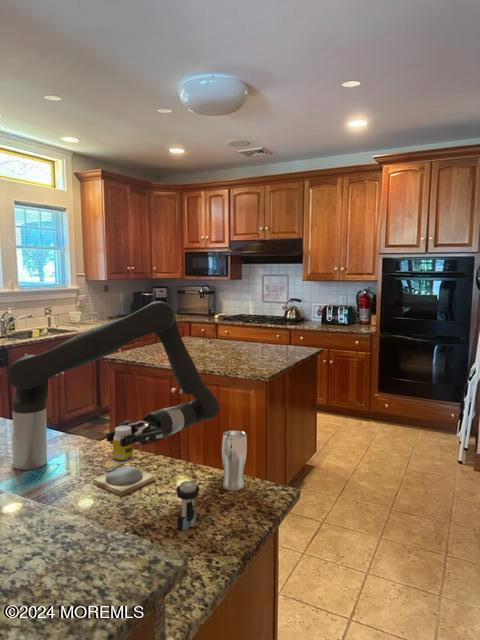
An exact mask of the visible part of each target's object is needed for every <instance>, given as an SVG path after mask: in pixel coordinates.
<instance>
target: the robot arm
mask: <svg viewBox="0 0 480 640" xmlns="http://www.w3.org/2000/svg"><path fill="white" fill-rule="evenodd" d="M151 334H155V335H156V336H157V338H158V340H160V342H161V345H162V347H163V348H164V350H165V353H166V356H167V359H168V362H169V365H170V368H171V370H172V372H173V375H174V377H175V379H176V382H177V384H178V387H179V388H180V390H181V392H182V393H183V395H186V396H187V395H190V396H193V397H194V398H195V399H194V400H191V401H189V402H186V403H180V404H178V405H174V406H171V407H170V406H169V407H165V408H161V409H158V410H155V411H152V412H149V413H147V414H145V416H144V417H143V419H142V420H138V421H136V422H133V423H132V422H131V421H132V420H131V419H126V420H124V421H122V422H120V423H118V424H116V425H115V427H114V430H112V431H109V432H107V433H106V436H105V437H106V438H105V440H106V442H108V443H109V442H113V437H114V436H115V428H116V427H118V426H130V427H131V435H128V436H125V437H122V438H121V439H120V446H121V447H125V446H128V445H131V444H133V445H137V444H140V445H142V446H145V445H149V444H153V443H156V442H161V441H163V440H164V438H166V437H167V438H168V436H172V435H174V434H176V433H177V432H180V431H182V430H185V429H187V428H189V427H191V426H193V425H196V424H198V423H202V422H205V421H208V420H212V419H214V418H217V416H218V414H219V412H220V405H219V401H218V399H217V397H216V396H215V395H214V393H213V392H212V391H211V390H210V389H209V388H208V386H207V385H206V384H205V383H204V381H203V380H202V377H201V375H200V373H199V370H198V368H197V367H196V365H195V362H194V360H193V359H192V357H191V355H190V353H189V351H188V349H187V347H186V344H185V342H184V340H183V339H182V336H181V333H180V331H179V327H178V324H177V320H176V313H175V311H174V308H173V307H172V306H171V305H170V304H169V303H168V302H165V301H162V300H161V301H160V300H159V301H158V300H156V301H153V302H150V303H149V304H147V305H146V306H144V307H142V308H140V309H138V310H137V311H134V312H133V313H131V314H129V315H127V316H125V317H122V318H118V319H116V320H112V321H110V322H107V323H104V324H100V325H98V326H94V327H92V328H91V329H88V330H86V331H83V332H81V333H78V334H77V335H75V336H73V337H70V338H69V339H67V340H65V341H64V342H62V343H60V344H59V345H57V346H55V347H54V348H52V349H49V350H47V351H45V352H42V353H39V354H29V355H25V356H23V357H21V358H19V359H17V360H15V361H14V362H13V363H12V364H11V365H10V366H9V369H8V371H7V382H8V383H9V384H10V385H11V386H12V387H14V388H15V394H14V395H15V396H14V398H13V400H12V406H11V407H12V435H11V436H12V437H11V438H12V439H11V440H12V464H13V468H14V469H16V470H19V469H21V470H20V471H28V470H29V471H30V470H36V469H38V468H41V467H44V466H45V465H46V464H47V462H48V447H47V446H48V445H47V444H48V442H47V441H48V439H47V438H48V437H47V433H48V432H47V431H48V430H47V429H48V428H47V427H48V426H47V400H48V397H49V396H48V395H49V379H51V378H52V377H54V376H56V375H59V374H60V373H63V372H66V371H69V370H72V369H75V368H78V367H81V366H84V365H87V364H90V363H92V362H95V361H97V360H100V359H102V358H104V357H107V356H108V355H111V354H113V353H114V352H116V351H118V350H120V349H122V348H123V347H125V346H127V345H128V344H130V343H131V342H133V341H135V340H138V339H139V338H142V337H145V336H148V335H151Z"/></svg>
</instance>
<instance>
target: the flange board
mask: <svg viewBox="0 0 480 640" xmlns="http://www.w3.org/2000/svg"><path fill="white" fill-rule="evenodd" d="M155 479H156V478H155V475H153V474H151V473H149V472H146V471H143V470H140V469H139V468H136V467H133V466H130V465H128V464H124V465H122V466H119V467H118V468H115V467H111V468H109V469H107V472H106V473H104V474H101V475H99V476H97V477H94V478H92V483H93V484H95V485H96V486H98V487H101V488H103V489H104V490H107V491H109V492H112V493H114V494H116V495H119V496H121V497H122V496H125V495H126V494H129V493H131V492H132V491H134V490H137V489H139V488H140V487H142V486H145V485H148V483H151V482H153V481H155Z"/></svg>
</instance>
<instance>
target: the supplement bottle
mask: <svg viewBox="0 0 480 640" xmlns="http://www.w3.org/2000/svg"><path fill="white" fill-rule="evenodd" d="M114 430H115V436H114V437H113V441H112V442H113V443H112V445H113V449H112V452H113V453H112V454H113V455H112V457H113V459H112V461H113V463H115V464H118V465H119V464H121V465H123V464H124V465H126V464H128V463H130V462H132V460H133V456H134V455H133V452H134V451H133V447H134V446H133V445H134V443H133V444H131V445H128V446H125V447H121V446H120V439H121V438H122V437H125V436H128V435H131V434H132V433H131V427H130V426H118V427H116V428H115V427H114Z"/></svg>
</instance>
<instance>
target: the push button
mask: <svg viewBox="0 0 480 640" xmlns="http://www.w3.org/2000/svg"><path fill="white" fill-rule="evenodd" d="M176 492H177V493H176V494H177V498H179V499H180V500H181V510H180V515H179V516H178V517H177V520H176V521H177V523H176V524H177V525H176V526H177V529H178V530H182V531H187V530H188V529H190V527H191V528H193V527H194V526H195V523H196V521H197V517H198V516H199V515H197V514H198V511H196V510H194V503H195V501H194V499H196V498H197V497H198V496H199V492H200V487H199V485H197V484H196V482H194V481H192V480H190V481H189V480H186V481H182V482H181V483H180V485H178V486H177V487H176Z"/></svg>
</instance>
